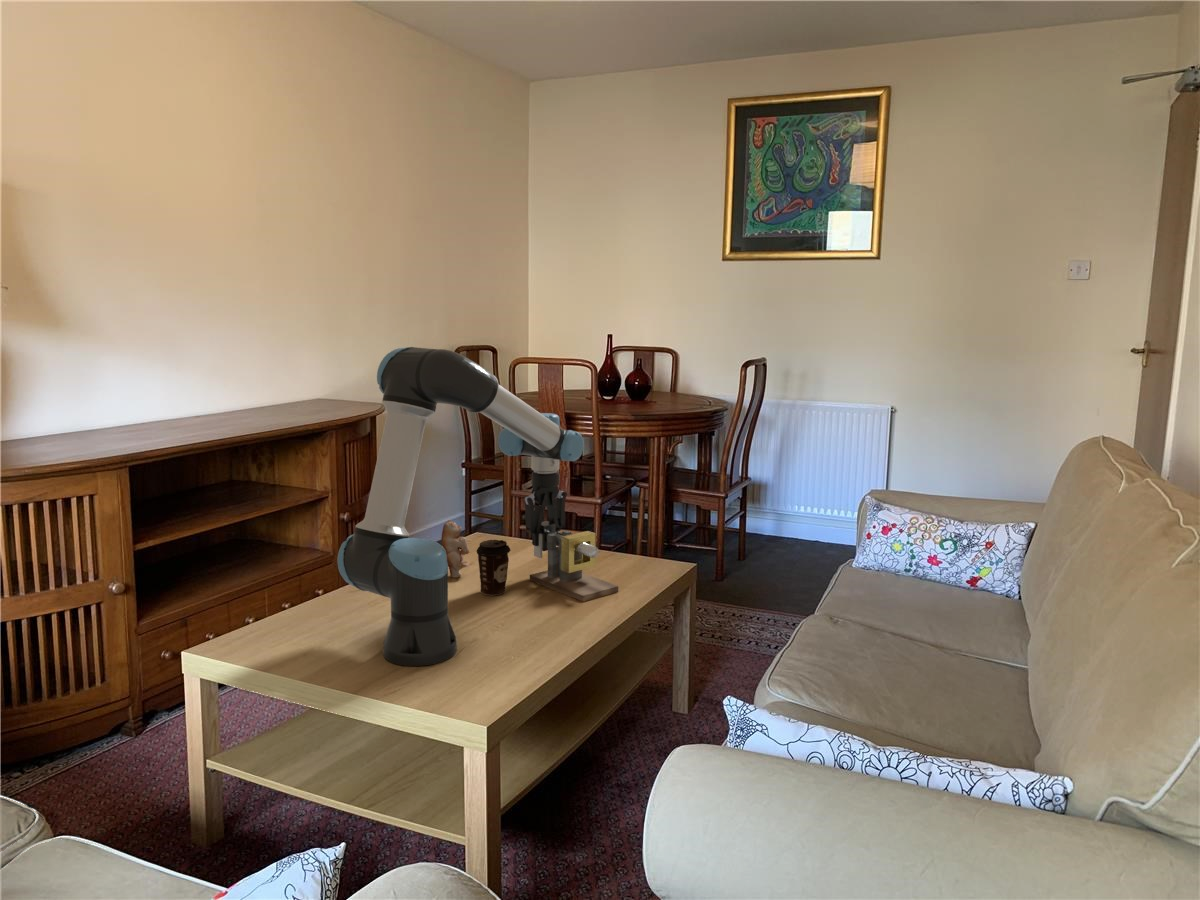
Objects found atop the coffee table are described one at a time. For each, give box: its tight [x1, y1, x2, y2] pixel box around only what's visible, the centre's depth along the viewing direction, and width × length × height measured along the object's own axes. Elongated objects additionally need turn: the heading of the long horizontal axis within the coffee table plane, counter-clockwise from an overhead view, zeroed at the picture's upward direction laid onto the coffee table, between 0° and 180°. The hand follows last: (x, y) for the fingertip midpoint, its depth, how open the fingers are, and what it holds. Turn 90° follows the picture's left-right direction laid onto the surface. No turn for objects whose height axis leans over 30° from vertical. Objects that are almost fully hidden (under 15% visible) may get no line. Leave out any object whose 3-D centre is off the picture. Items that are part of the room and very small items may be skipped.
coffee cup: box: [476, 539, 511, 597], centre depth 215 cm, size 9×8×13 cm
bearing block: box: [529, 530, 619, 603], centre depth 221 cm, size 12×22×13 cm, turn 42°
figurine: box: [441, 519, 470, 579], centre depth 228 cm, size 6×8×15 cm
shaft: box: [540, 520, 599, 559], centre depth 222 cm, size 4×22×7 cm, turn 42°
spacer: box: [561, 530, 596, 573], centre depth 219 cm, size 9×3×9 cm, turn 132°
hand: (545, 555), depth 230 cm, fingers closed on shaft, 4 cm apart
